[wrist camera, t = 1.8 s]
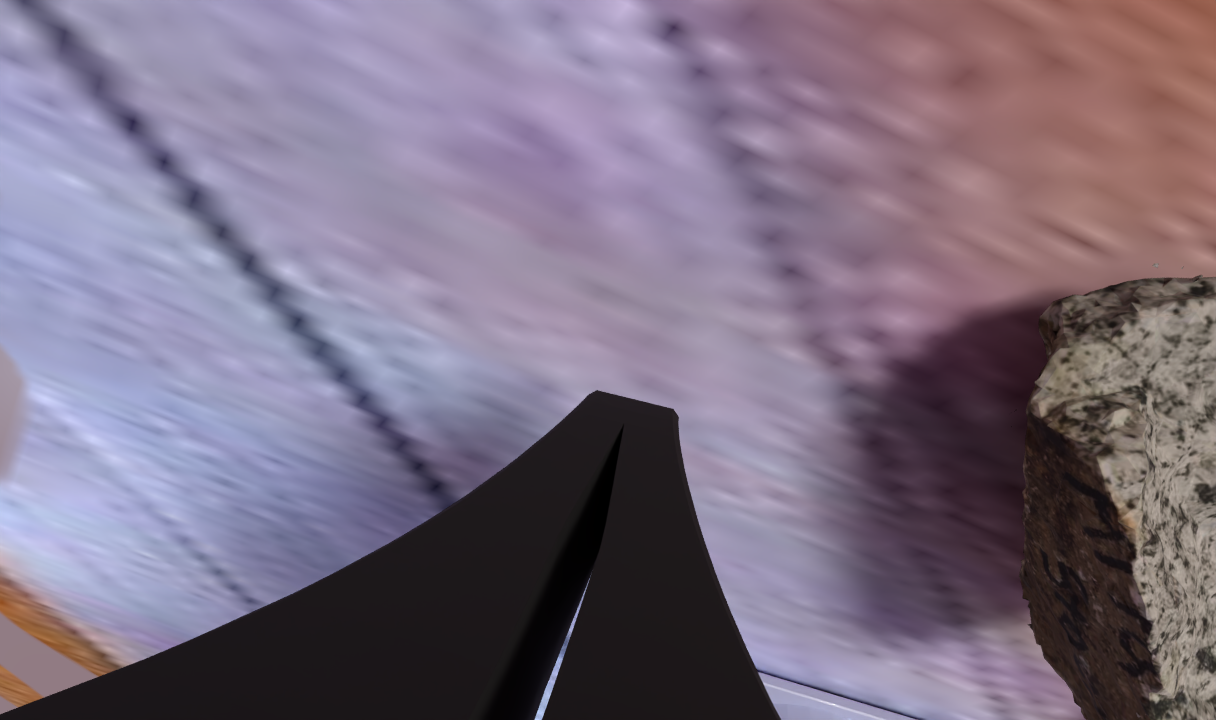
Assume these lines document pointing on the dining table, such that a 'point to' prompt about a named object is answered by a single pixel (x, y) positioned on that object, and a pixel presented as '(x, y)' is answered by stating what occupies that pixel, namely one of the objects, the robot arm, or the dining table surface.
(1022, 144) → the dining table surface
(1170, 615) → the rock sample
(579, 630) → the robot arm
